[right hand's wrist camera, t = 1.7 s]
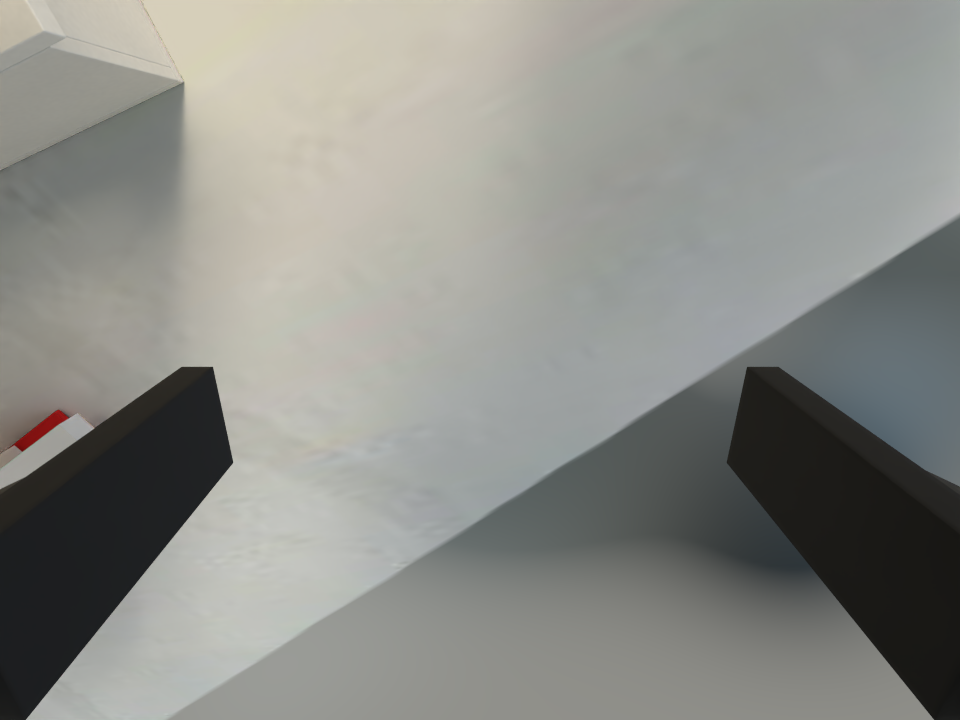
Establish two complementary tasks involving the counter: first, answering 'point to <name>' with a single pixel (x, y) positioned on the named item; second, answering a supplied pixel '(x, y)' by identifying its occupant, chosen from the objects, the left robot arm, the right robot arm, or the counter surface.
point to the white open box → (82, 75)
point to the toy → (41, 445)
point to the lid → (26, 30)
